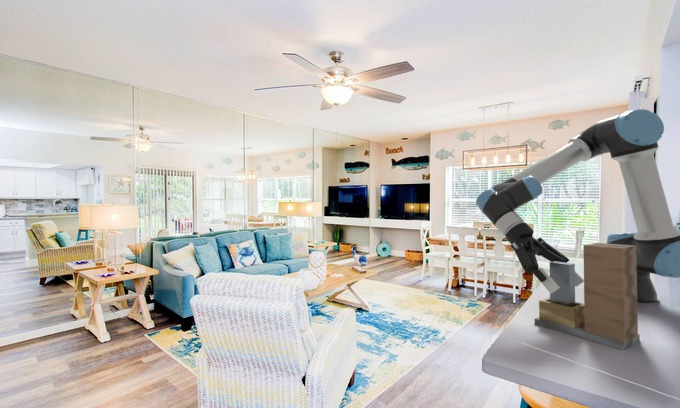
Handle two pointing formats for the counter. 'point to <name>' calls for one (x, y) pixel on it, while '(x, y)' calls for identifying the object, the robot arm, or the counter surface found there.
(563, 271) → the grey block
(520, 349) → the counter surface
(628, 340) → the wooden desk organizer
